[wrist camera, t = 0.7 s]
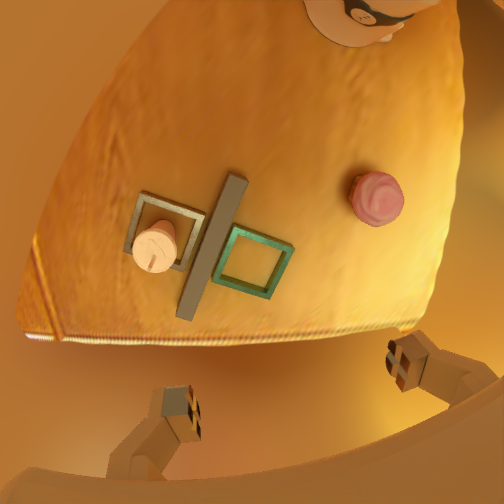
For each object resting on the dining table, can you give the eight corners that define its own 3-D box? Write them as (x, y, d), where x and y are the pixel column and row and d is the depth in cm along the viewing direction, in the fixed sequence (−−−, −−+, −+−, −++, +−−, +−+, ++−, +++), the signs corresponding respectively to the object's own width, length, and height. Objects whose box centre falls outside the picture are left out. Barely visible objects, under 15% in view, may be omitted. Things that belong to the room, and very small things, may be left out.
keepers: (142, 190, 47) (139, 192, 45) (292, 244, 54) (294, 249, 52) (126, 247, 50) (123, 251, 48) (267, 294, 57) (269, 299, 55)
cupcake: (347, 160, 49) (374, 168, 40) (387, 174, 51) (418, 185, 41) (332, 208, 52) (356, 226, 43) (372, 219, 54) (400, 238, 44)
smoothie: (150, 251, 51) (132, 291, 38) (141, 215, 48) (117, 247, 36) (186, 244, 51) (178, 284, 38) (178, 208, 49) (165, 237, 36)
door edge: (228, 170, 47) (230, 174, 44) (246, 177, 48) (248, 181, 44) (177, 304, 56) (175, 316, 52) (192, 309, 56) (191, 321, 53)
